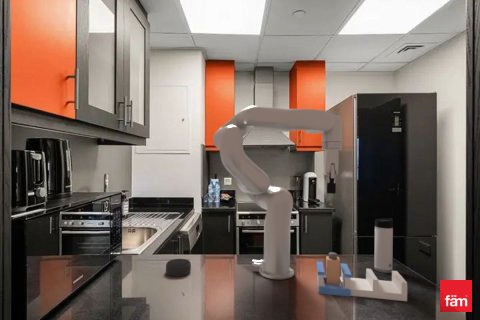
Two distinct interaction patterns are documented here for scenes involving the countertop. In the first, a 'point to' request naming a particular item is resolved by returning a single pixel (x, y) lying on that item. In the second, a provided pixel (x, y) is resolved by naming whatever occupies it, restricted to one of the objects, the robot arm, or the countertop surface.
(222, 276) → the countertop surface
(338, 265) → the cord plug
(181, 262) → the smart speaker
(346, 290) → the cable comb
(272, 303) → the countertop surface
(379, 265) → the travel mug
